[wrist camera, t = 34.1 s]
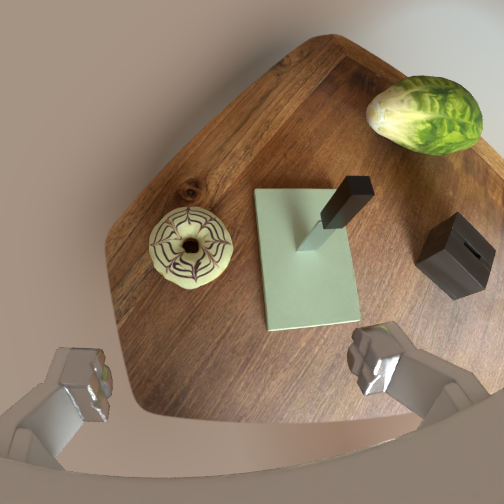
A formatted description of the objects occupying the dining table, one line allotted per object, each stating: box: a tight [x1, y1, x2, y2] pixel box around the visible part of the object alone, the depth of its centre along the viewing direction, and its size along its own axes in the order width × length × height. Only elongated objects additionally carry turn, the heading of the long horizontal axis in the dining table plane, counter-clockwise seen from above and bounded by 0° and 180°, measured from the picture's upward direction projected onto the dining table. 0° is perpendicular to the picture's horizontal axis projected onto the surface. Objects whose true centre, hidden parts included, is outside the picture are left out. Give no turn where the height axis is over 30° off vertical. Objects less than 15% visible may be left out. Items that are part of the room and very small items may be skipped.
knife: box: [296, 176, 375, 252], centre depth 36 cm, size 2×3×18 cm, turn 97°
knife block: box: [415, 212, 496, 300], centre depth 44 cm, size 8×10×8 cm
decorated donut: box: [149, 207, 233, 289], centre depth 42 cm, size 10×11×4 cm
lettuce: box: [366, 76, 483, 156], centre depth 49 cm, size 15×27×16 cm, turn 105°
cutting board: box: [254, 189, 361, 331], centre depth 45 cm, size 20×13×1 cm, turn 5°
